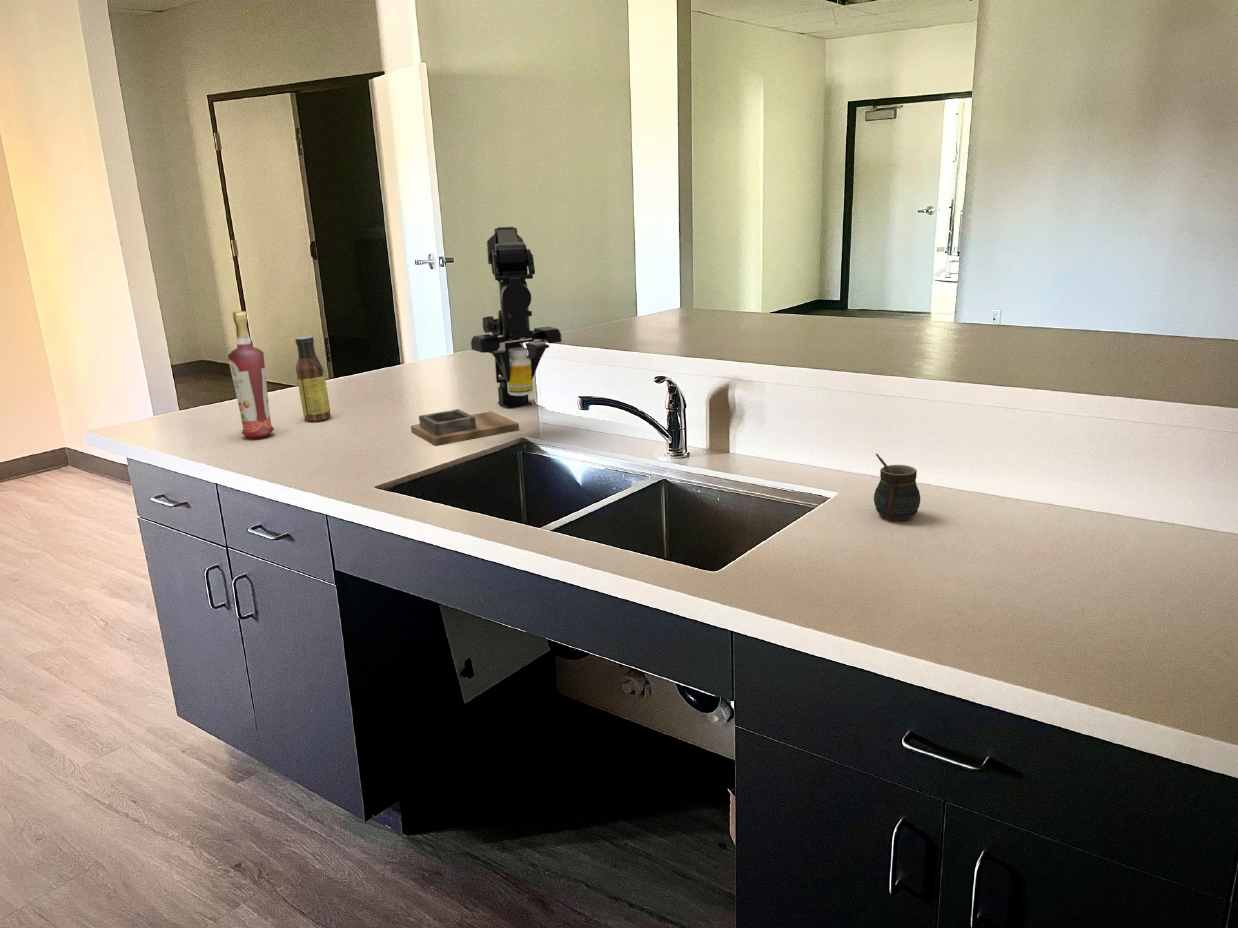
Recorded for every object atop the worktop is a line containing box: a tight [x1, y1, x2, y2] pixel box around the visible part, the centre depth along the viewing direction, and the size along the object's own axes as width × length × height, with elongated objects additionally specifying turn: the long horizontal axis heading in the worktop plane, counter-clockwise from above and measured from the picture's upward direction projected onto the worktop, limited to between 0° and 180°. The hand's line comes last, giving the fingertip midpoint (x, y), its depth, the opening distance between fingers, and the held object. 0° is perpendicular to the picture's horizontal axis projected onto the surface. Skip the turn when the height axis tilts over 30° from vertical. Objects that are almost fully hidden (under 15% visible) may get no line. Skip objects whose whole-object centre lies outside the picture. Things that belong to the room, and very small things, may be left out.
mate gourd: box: [873, 453, 921, 522], centre depth 144 cm, size 7×8×10 cm
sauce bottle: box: [294, 335, 331, 422], centre depth 214 cm, size 6×6×20 cm
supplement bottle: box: [507, 347, 534, 396], centre depth 192 cm, size 5×5×10 cm
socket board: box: [410, 408, 520, 447], centre depth 202 cm, size 20×14×4 cm
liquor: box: [227, 310, 275, 440], centre depth 200 cm, size 7×7×28 cm
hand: (519, 379), depth 193 cm, fingers closed on supplement bottle, 5 cm apart
